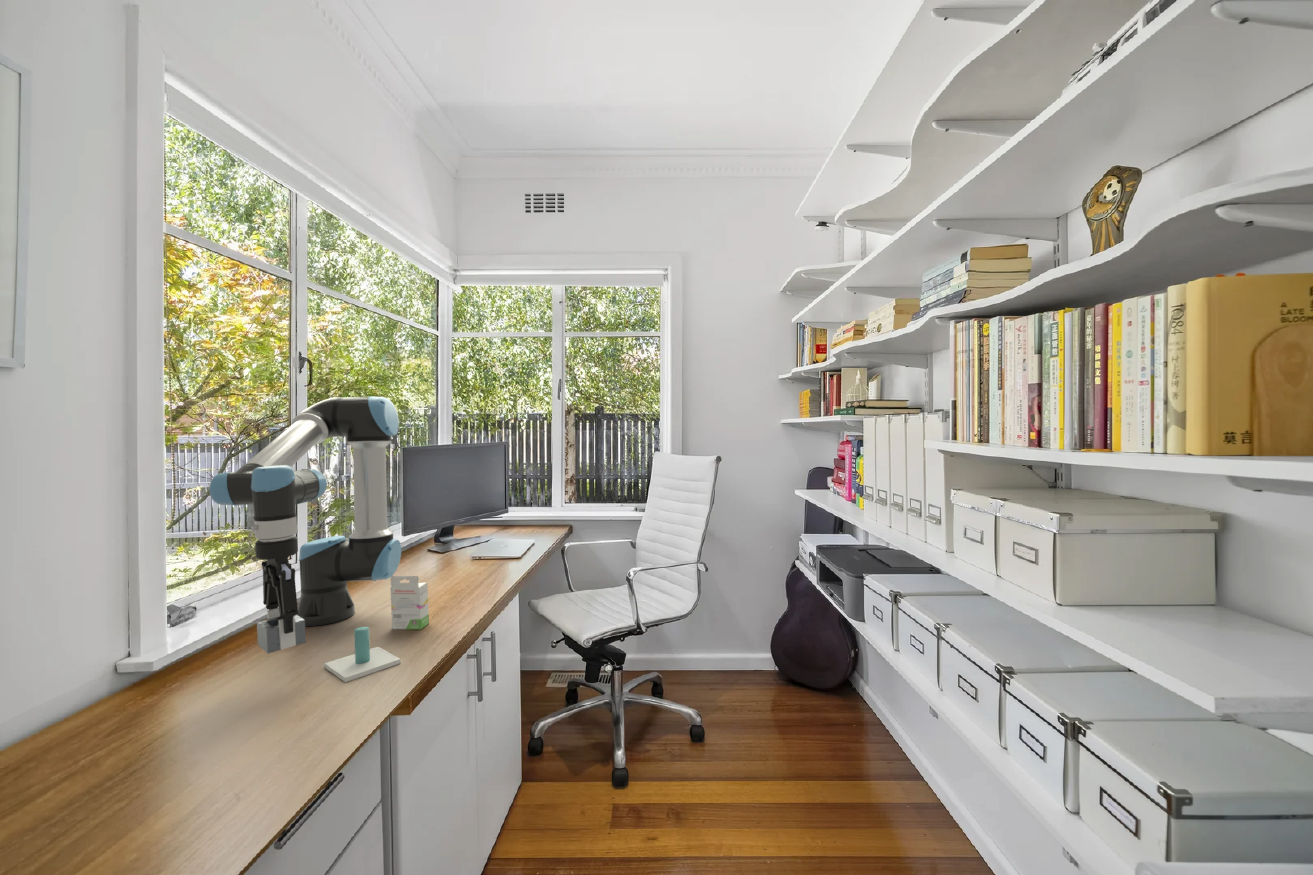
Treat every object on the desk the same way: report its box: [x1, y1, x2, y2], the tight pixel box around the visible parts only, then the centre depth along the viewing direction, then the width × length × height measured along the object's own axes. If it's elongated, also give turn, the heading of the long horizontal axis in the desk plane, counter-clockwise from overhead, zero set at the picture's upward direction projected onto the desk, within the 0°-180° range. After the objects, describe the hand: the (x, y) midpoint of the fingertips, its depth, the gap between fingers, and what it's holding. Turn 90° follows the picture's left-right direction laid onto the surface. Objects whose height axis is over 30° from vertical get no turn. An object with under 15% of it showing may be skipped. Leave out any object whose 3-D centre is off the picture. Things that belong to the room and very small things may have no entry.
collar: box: [256, 615, 307, 654], centre depth 119 cm, size 7×7×5 cm
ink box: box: [390, 575, 430, 630], centre depth 152 cm, size 9×5×15 cm, turn 84°
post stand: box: [324, 626, 401, 683], centre depth 128 cm, size 12×12×8 cm
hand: (282, 642), depth 119 cm, fingers closed on collar, 7 cm apart
